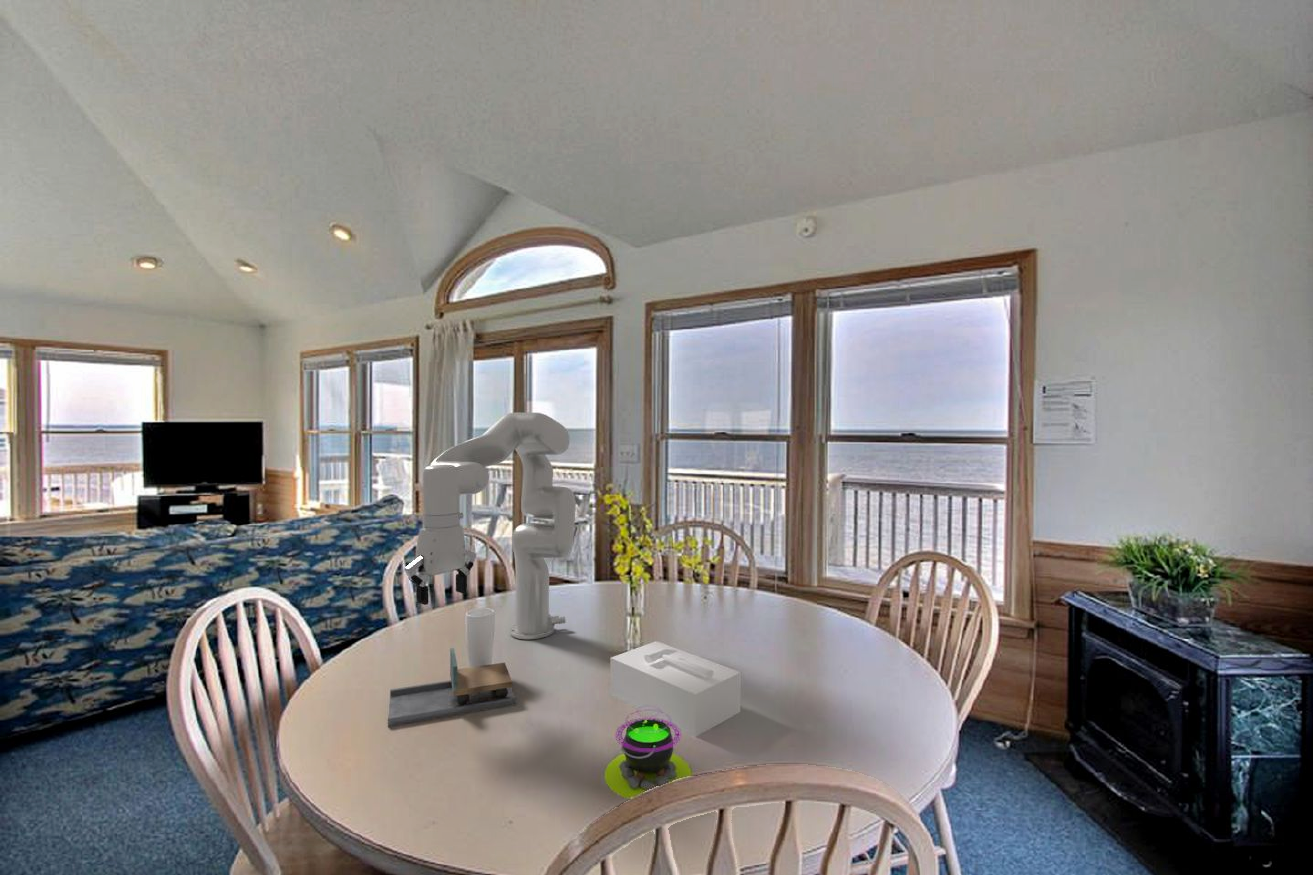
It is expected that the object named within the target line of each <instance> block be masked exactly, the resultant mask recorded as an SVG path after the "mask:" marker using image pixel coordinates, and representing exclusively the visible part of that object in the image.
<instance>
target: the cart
mask: <svg viewBox="0 0 1313 875" xmlns="http://www.w3.org/2000/svg"><path fill="white" fill-rule="evenodd" d="M449 651H450V652H449V655H450V658H449V660H450V662H449V664H450V668H449V669H450V674H449V675H450V680H451V684H452V690H453V696H457V702H458V704H460V705H463V704H467V703H468V701H469V694H472V693H478V692H484V691H490V690H496V695H497V697H498V698H505V697H506V696H507V694H508V690H507V688H509V687H511V688H512V687H513V680H512V677H511V675H510V672H509V670H508V668H507V665H506V662H499V663H492V664H491V665H484V666H477V667H470V668H468V667H464V668H458V662H457V657H456V656H457V655H456V651H455V647H452V648H451V647H450V649H449Z"/></svg>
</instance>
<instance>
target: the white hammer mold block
mask: <svg viewBox="0 0 1313 875" xmlns="http://www.w3.org/2000/svg"><path fill="white" fill-rule="evenodd" d="M609 668H610V670H609V671H610V676H609V678H610V681H609V682H610V683H609V685H610V688H609V690H610V692H609V693H610V694H609V695H610V696H612V697H613V698H615V699H618V700H620V701H622V702H624V703H625V704H628V705H630V706H632V707H634V708H636V709H637V708H638V709H639V710H640V711H641V710H642V711H641V712H644V713H646V714H648V715H649V716H651V717H653V716H654V717H653V718H656V719H658V718H661V719H664V721H665V722H666V720H667V722H669V721H670V722H672V723H671V724H673V723H674V725H673V726H675V725H676V726H678V727H679V729H678V728H677V727H676V726H675V727H676V728H677V729H678V730H681V732H684V733H686V734H688V735H690V736H693V737H694V738H697V737H699V736H700V735H702V734H703V733H705V732H707V731H709V730H710V729H712V728H714V727H716V726H718V725H719V724H721V723H724V722H725V721H727V720H728V719H730V718H732V717H734V716H735V715H737V714H740V712H741V690H742V689H741V687H742V686H741V682H742V681H741V678H742V676H741V675H742V674H741V672H740V671H739V670H736V669H733V668H731V667H728V666H725V665H722V664H719V663H717V662H714V661H711V660H708V659H705V658H704V657H701V656H698V655H695V654H692V653H689V652H687V651H684V650H682V649H679V648H676V647H673V646H670V645H668V644H666V643H663V642H659V641H656V640H655V641H653V642H650V643H647V644H645V645H642V646H639V647H637V648H633V649H631V650H627V651H625V652H623V653H619V654H617V655H614V656H611V657H610V667H609ZM645 705H646V707H645ZM651 705H652V707H651ZM640 707H641V708H640ZM659 708H660V710H659ZM638 709H637V710H638ZM648 709H649V710H648ZM644 710H645V711H644ZM652 710H653V711H652ZM654 710H655V711H654ZM657 710H658V711H657ZM658 712H659V713H658ZM661 712H663V713H661ZM656 714H657V715H658V716H657V715H656ZM668 715H669V716H670V717H669V718H668ZM661 719H659V720H660V721H661ZM669 719H670V720H669ZM665 722H664V723H665ZM676 728H675V729H676Z"/></svg>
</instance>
